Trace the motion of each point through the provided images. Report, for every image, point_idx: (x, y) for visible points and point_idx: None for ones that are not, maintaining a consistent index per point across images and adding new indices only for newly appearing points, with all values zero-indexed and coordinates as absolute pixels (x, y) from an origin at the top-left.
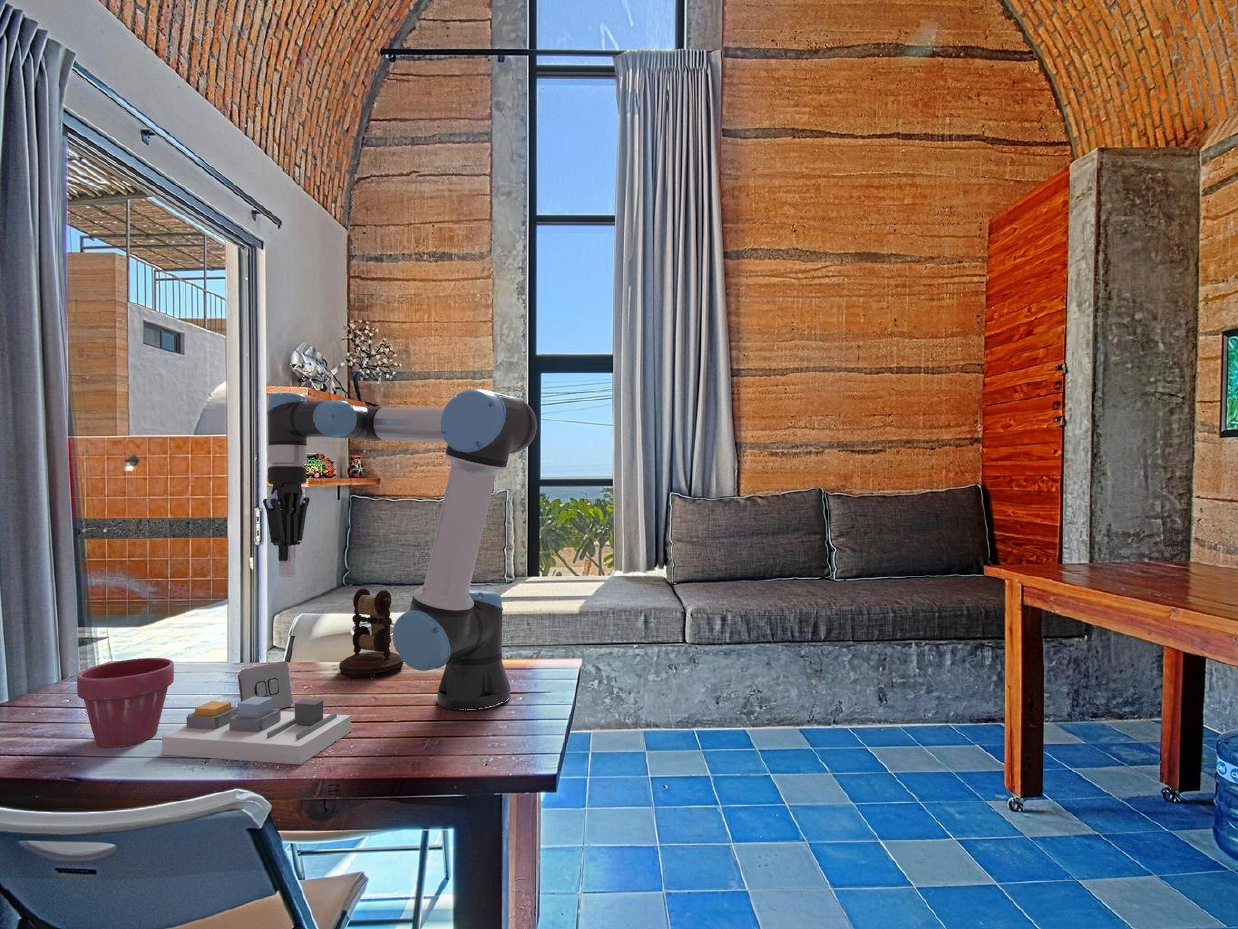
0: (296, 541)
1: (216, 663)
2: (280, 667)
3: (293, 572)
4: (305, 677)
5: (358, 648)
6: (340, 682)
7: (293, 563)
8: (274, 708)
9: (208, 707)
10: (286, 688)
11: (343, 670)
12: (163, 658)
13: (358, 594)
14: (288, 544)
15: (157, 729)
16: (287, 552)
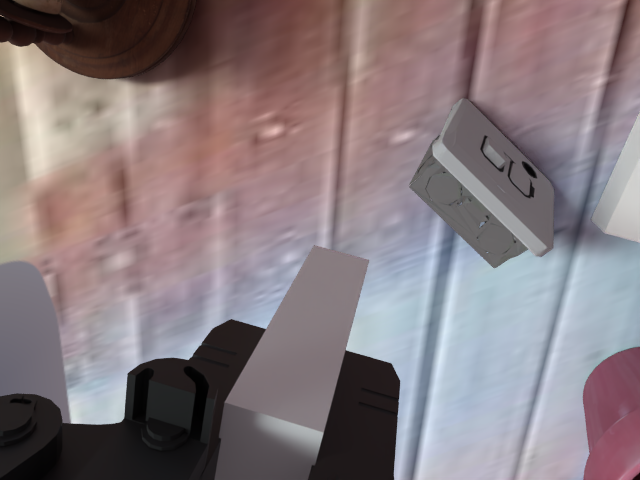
0: (161, 427)
1: (76, 422)
2: (464, 153)
3: (326, 260)
4: (182, 166)
5: (64, 18)
6: (230, 37)
7: (312, 294)
8: (501, 134)
9: None
10: (467, 120)
11: (176, 44)
12: (630, 478)
13: None
14: (357, 469)
15: (634, 351)
16: (342, 406)
